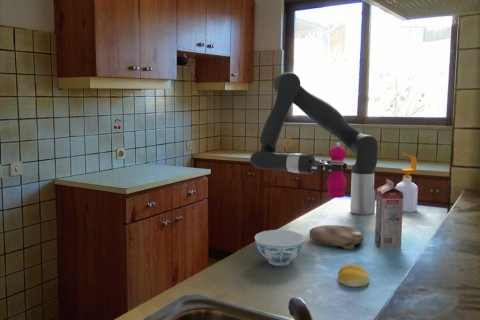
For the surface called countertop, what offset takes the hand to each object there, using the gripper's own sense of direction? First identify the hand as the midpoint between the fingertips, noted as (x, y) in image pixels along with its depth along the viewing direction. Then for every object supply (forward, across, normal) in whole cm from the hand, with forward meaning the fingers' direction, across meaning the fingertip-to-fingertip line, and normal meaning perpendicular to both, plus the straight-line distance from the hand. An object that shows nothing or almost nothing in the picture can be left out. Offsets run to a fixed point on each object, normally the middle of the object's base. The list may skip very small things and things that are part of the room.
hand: (344, 167), depth 167 cm
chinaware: (-8, -40, +24) cm, 48 cm away
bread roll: (+16, -44, +24) cm, 52 cm away
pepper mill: (-3, 0, +11) cm, 11 cm away
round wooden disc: (+2, -14, +24) cm, 27 cm away
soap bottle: (+16, +41, +24) cm, 50 cm away
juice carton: (+18, -10, +24) cm, 32 cm away
